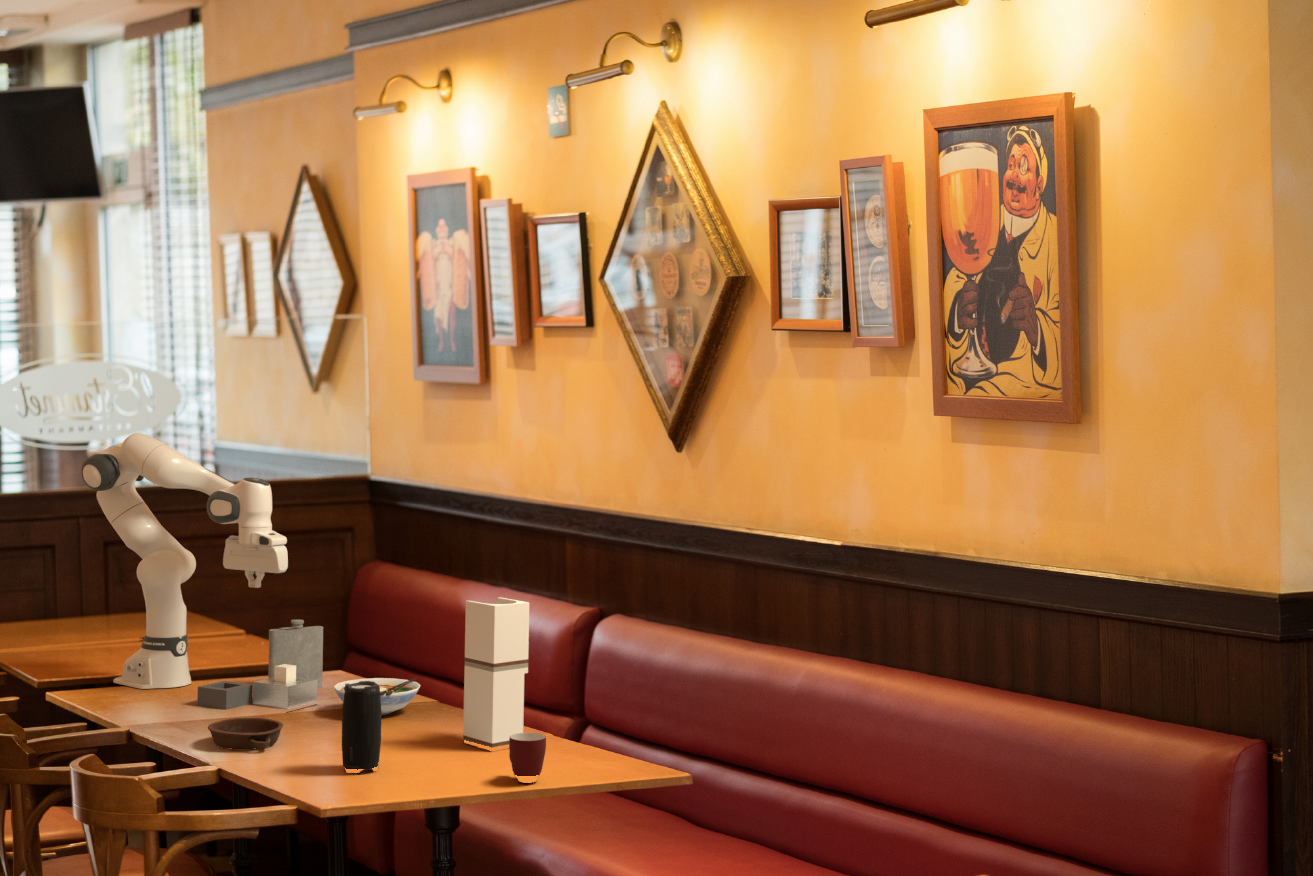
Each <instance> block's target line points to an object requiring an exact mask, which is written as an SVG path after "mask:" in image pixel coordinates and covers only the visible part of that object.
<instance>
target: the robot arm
mask: <svg viewBox="0 0 1313 876" xmlns="http://www.w3.org/2000/svg"><path fill="white" fill-rule="evenodd" d="M80 474H81V477H82V480H83V482H84V483H85V485H86V486H87V487H88V488H89V489H91V490H93V491H96V500H97V502H98V505H99V506H100V508H101V511H102V512H103V514H104V515H105V517H106V519H107V520H108V522H109V524H110V525H111V526H112V528H113V530H115V532H116V533H117V535H118V536H119V537H120V539H121V540H122V541H123V543H124V544H125V546H126V547H127V548H128V549H130V550H132V551H133V552H135V554H136V555H138V556H139V557H140V558H141V559H142V560H141V561H140V562H139V563H138V565H137V568H136V577H137V580H138V582H139V583H140V584H141V589H142V595H143V598H144V603H145V611H146V612H145V614H146V615H145V618H146V619H145V622H146V623H145V624H146V625H145V628H146V630H145V636H141V637H138V639H139V640H138V643H140V642H142V643H141V645H140V647H141V648H139V649H138V650H137V651H136V652H134V653H133V654H132V655H130V656H129V657H128V658H127V659H126V660H125V661H124V663H123V665H122V675H121V676H118V677H115V678H113V680H112V681H113V683H114V684H118V685H122V686H127V687H130V688H131V687H132V688H136V689H140V690H143V689H144V690H147V689H149V690H150V689H169V688H171V689H172V688H178V687H184V686H185V687H186V686H188V685H190V684H192V682H193V681H192V677H191V675H190V667H189V658H188V657H189V656H188V652H187V651H188V650H187V649H188V646H189V636H188V634H187V616H188V615H187V614H188V611H187V606H186V604H185V601H184V599H183V594H182V588H181V585H182V584H183V583H185V582H186V581H188V580H189V579H190V578H191V577H192V576H193V574H194V573H195V572H196V571H195V570H196V568H197V567H196V566H197V561H196V557H195V556H194V554H193V553H192V552H191V551H190V550H188V549H187V548H185V547H184V546H183V545H182V544H180V542H179V541H178V540H177V539H176V538H175V537H174V536H173V535H172V534H171V533H170V532H168V530H166V528H165V527H163V525H161V523H160V521H159V520H158V519H157V517H156V516H155V514H153V512H152V511H151V510H150V508H149V506H148V505H147V503H146V502H145V501H144V499H143V498H142V496H140V494H139V493H138V491H137V489H136V482H141V481H143V480H144V479H146V480H147V481H149V482H150V483H153V484H155V485H157V486H160V487H162V488H166V489H185V490H194V491H199V492H201V493H204V494H206V495H208V496H209V497H208V499H207V502H206V513H207V515H208V517H209V519H211V521H213V522H214V523H216V524H220V525H221V524H222V525H228V524H238V535H234V534H233V535H229V537H227V538H226V539H225V547H224V550H223V551H224V552H223V557H222V558H223V559H222V565H223V567H224V569H227V570H236V571H237V570H238V571H239V570H240V571H244V576H245V577H246V579H247V581H248V585H247V586H248V587H249V588H256V589H258V588H261V587H262V581H263V579H264V577H265V573H271V574H272V573H273V574H283V573H285V572H286V571H287V569H288V568H289V559H288V557H289V556H288V554H289V553H288V549H287V546H285V545H286V544H287V543H288V539H287V537H286V536H285V535H283V534H280V533H278V532H277V531H275V530H273V524H272V520H271V517H272V514H273V493H272V487H271V484H270V483H269V482H268V481H267V480H265V479H262V478H258V477H244V478H242V479H241V480H240V481H239V482H237V483H235V482H233V481H231V480H229V479H227V478H226V477H224V476H222V475H219V474H218V473H216V472H214V471H212V470H210V469H208V468H206V467H204V466H202V465H200V464H199V463H198V462H195V460H192V459H190V458H189V457H187V456H185V454H184V455H183V454H182V453H181V452H179V451H177V450H176V449H175V448H173V447H171V446H170V445H168V444H166V443H164V442H163V441H160V440H159V439H157V438H155V437H152V436H150V435H147V434H144V433H141V432H137V433H136V432H135V433H132V434H130V435H129V436H127V437H126V438H125V439H124V440H123V441H122V442H119V443H116V444H114V445H111V446H108V447H107V448H105V449H103V450H101V451H99V452H98V453H95V454H93V455H91V456H89V457H88V458H87V459H86V460H84V462H83V463H82V465H81V467H80ZM254 574H255V576H256V577H254Z"/></svg>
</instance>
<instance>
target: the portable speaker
mask: <svg viewBox="0 0 1313 876" xmlns="http://www.w3.org/2000/svg"><path fill="white" fill-rule="evenodd" d="M344 690H345V693H344V701H342V710H341V712H342V713H341V754H342V755H341V756H342V766H343V768H344V767H345V768H346V769H357V770H358V769H370V770H372V768H374V767H377V766H378V767H379V763H380V756H381V755H380V754H381V744H382V716H381V699H380V687H379V685H378V684H376V683H375V682H373V681H360V682H358V683H353V684H349V683H348V684H345V687H344ZM345 768H344V769H345Z"/></svg>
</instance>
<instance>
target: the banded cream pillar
mask: <svg viewBox="0 0 1313 876" xmlns="http://www.w3.org/2000/svg"><path fill="white" fill-rule="evenodd" d="M464 618H465V620H464V621H465V625H464V628H465V629H464V630H465V631H464V672H463V673H464V675H463V676H464V679H463V684H464V686H463V726H462V727H463V728H462V729H463V730H462V731H463V732H462V733H463V734H462V735H463V737H462V738H463V739H462V741H463V740H466V741H469V742H474V743H477V744H481V745H484V746H489V747H491V748H494V747H498V746H505V745H509V739H510V736H511V735H513V734H517V733H524V711H525V710H524V708H525V706H524V705H525V674H528V673H529V650H530V649H529V648H530V647H529V646H530V643H529V639H530V601H529V602H528V601H522V600H517V599H511V598H506V597H497V601H496V603H486V602H485V603H484V602H481V601H480V602H479V601H474V600H465V617H464Z"/></svg>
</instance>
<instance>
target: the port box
mask: <svg viewBox="0 0 1313 876" xmlns="http://www.w3.org/2000/svg"><path fill="white" fill-rule="evenodd" d="M274 678H275V677H272V678H268V677H267V678H264V679H259V680H256V681H255V680H254V681H253V682H252V685H253V692H252V705H255V706H260V707H261V706H262V707H268V708H270V707H271V708H276V709H283V710H288V711H286V712H285V713H286V714H287V713H288V714H289V713H291V712H293V713H294V712H297V711H301V710H304V709H308V708H311V707H316V706H318V703H317V702H318V688H317V679H311V678H303V677H296V681H295V682H291V683H287V684H286V683H279V682H274ZM312 703H315V704H312ZM309 704H311V705H309ZM305 705H308V706H305ZM302 706H303V707H302ZM304 706H305V707H304ZM297 707H301V708H297ZM293 708H296V709H293ZM290 709H293V710H290Z"/></svg>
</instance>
